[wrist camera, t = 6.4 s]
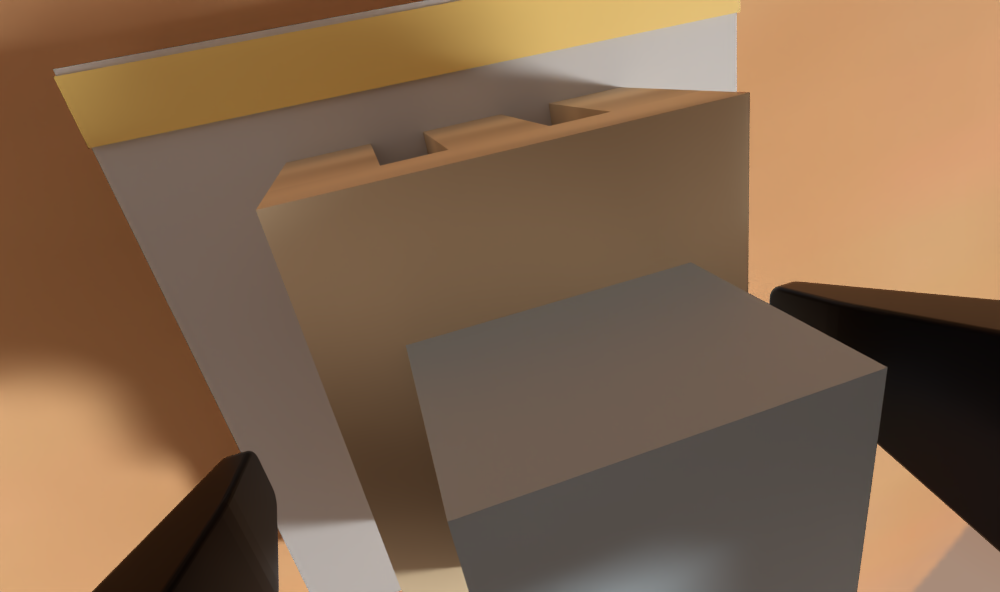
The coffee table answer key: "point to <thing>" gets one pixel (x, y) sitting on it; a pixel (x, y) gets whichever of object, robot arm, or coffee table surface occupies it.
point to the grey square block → (652, 443)
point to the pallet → (490, 259)
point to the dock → (324, 129)
